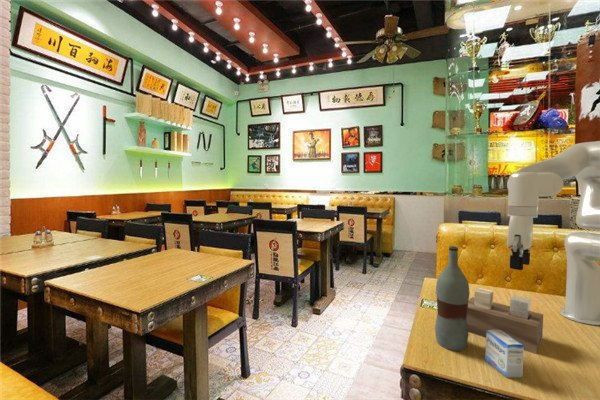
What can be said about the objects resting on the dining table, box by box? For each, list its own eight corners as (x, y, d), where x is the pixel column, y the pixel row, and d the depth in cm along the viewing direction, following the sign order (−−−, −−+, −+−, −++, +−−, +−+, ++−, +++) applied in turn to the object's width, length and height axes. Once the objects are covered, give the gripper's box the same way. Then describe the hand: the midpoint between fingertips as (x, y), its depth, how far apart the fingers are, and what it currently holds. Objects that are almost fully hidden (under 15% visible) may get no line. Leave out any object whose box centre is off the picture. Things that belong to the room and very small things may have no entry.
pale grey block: (512, 319, 95) (513, 295, 95) (529, 324, 92) (530, 299, 92) (509, 324, 92) (510, 299, 92) (527, 329, 89) (528, 303, 89)
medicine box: (484, 360, 82) (485, 329, 81) (499, 359, 82) (500, 329, 81) (506, 378, 74) (507, 344, 73) (523, 377, 74) (524, 344, 74)
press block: (472, 318, 107) (472, 297, 107) (542, 338, 93) (543, 314, 92) (460, 329, 99) (461, 306, 99) (536, 353, 84) (537, 326, 84)
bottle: (469, 355, 84) (472, 251, 82) (434, 347, 88) (436, 248, 86) (466, 339, 92) (469, 245, 91) (434, 333, 96) (436, 243, 95)
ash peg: (477, 310, 102) (478, 287, 102) (492, 314, 99) (493, 291, 99) (474, 314, 99) (474, 290, 99) (489, 318, 96) (489, 294, 96)
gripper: (514, 210, 100) (512, 260, 100) (500, 212, 88) (498, 268, 89) (542, 211, 94) (540, 264, 95) (532, 214, 82) (529, 274, 83)
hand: (519, 266), depth 92 cm, fingers open, 9 cm apart
